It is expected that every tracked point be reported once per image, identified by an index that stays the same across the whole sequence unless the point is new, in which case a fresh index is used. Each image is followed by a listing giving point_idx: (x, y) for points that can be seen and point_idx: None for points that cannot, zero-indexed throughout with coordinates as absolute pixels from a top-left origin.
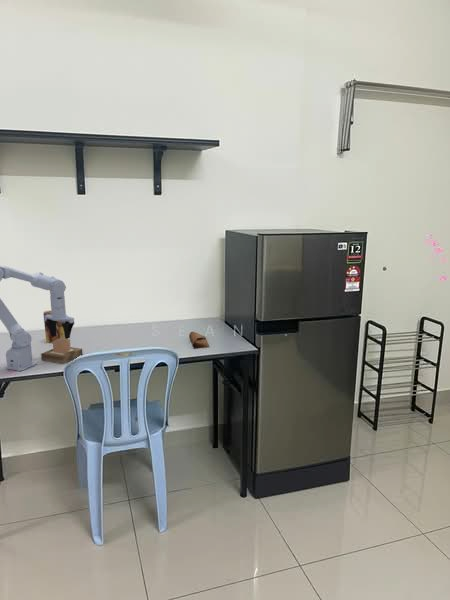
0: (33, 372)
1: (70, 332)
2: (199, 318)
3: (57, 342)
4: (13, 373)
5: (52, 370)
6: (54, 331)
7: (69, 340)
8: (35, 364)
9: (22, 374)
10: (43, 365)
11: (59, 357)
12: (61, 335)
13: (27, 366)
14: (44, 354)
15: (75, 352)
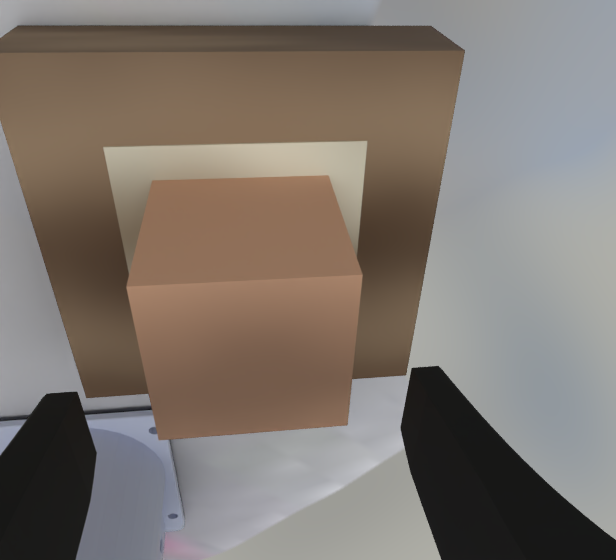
0: (285, 495)
1: (502, 447)
2: None
3: (261, 422)
4: (172, 544)
5: (391, 434)
6: (55, 505)
7: (357, 269)
8: None
9: (244, 532)
10: None
11: (355, 371)
12: None
13: (165, 484)
14: (139, 391)
15: (434, 194)
